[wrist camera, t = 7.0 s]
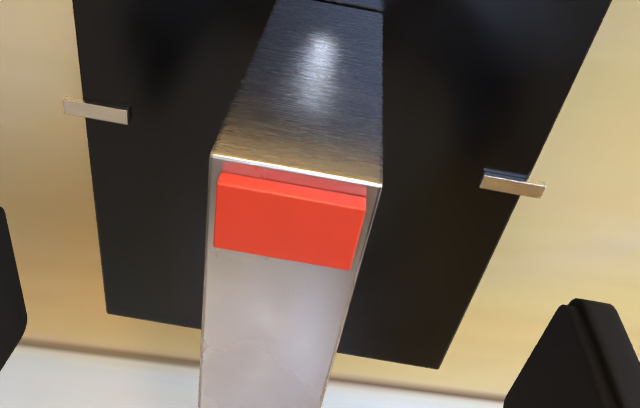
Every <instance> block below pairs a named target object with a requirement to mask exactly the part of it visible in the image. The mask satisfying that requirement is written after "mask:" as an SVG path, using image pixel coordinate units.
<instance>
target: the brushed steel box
mask: <svg viewBox="0 0 640 408" xmlns="http://www.w3.org/2000/svg"><path fill="white" fill-rule="evenodd" d="M382 187H383V14H381V13H377V12H372V11H367V10H361V9H356V8H351V7H345V6H340V5H335V4H329V3H324V2H318V1H313V0H276V1H275V4H274V6H273V8H272V11H271V13H270V15H269V18H268V20H267V22H266V25H265V27H264V29H263V32H262V34H261V36H260V39H259V41H258V43H257V46H256V48H255V50H254V53H253V55H252V57H251V60H250V62H249V64H248V67H247V69H246V71H245V74H244V76H243V78H242V81H241V83H240V85H239V88H238V90H237V92H236V95H235V97H234V99H233V102H232V104H231V106H230V109H229V111H228V113H227V116H226V118H225V120H224V123H223V125H222V127H221V130H220V132H219V134H218V137H217V139H216V141H215V143H214V146H213V148H212V150H211V153H210V155H209V176H208V198H207V220H206V242H205V265H204V287H203V309H202V331H201V354H200V376H199V398H198V408H321V405H322V402H323V398H324V394H325V391H326V387H327V384H328V380H329V377H330V373H331V369H332V366H333V362H334V359H335V355H336V351H337V348H338V344H339V341H340V337H341V334H342V330H343V326H344V323H345V319H346V316H347V312H348V309H349V305H350V301H351V298H352V294H353V291H354V287H355V284H356V280H357V276H358V273H359V269H360V266H361V262H362V259H363V255H364V251H365V248H366V244H367V241H368V237H369V233H370V230H371V226H372V223H373V219H374V216H375V212H376V208H377V205H378V201H379V198H380V194H381V191H382Z"/></svg>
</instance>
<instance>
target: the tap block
mask: <svg viewBox="0 0 640 408" xmlns="http://www.w3.org/2000/svg"><path fill="white" fill-rule="evenodd" d="M72 1H73V11H74V20H75V29H76V38H77V47H78V56H79V65H80V74H81V83H82V92H83V99H78V98H72V97H67V96H66V97H65V98H64V99H63V105H64V112H65V114H70V115H76V116H81V117H85V120H86V129H87V138H88V147H89V156H90V165H91V174H92V183H93V192H94V201H95V210H96V219H97V229H98V238H99V247H100V256H101V265H102V274H103V283H104V292H105V301H106V310H107V313H108V314H112V315H118V316H124V317H130V318H136V319H142V320H148V321H154V322H160V323H165V324H171V325H177V326H183V327H189V328H195V329H201V330H202V309H203V287H204V265H205V242H206V220H207V198H208V176H209V155H210V153H211V150H212V148H213V146H214V143H215V141H216V139H217V137H218V134H219V132H220V130H221V127H222V125H223V123H224V120H225V118H226V116H227V113H228V111H229V109H230V106H231V104H232V102H233V99H234V97H235V95H236V92H237V90H238V88H239V85H240V83H241V81H242V78H243V76H244V74H245V71H246V69H247V67H248V64H249V62H250V60H251V57H252V55H253V53H254V50H255V48H256V46H257V43H258V41H259V39H260V36H261V34H262V32H263V29H264V27H265V25H266V22H267V20H268V18H269V15H270V13H271V11H272V8H273V6H274V4H275V1H276V0H72ZM313 1H318V2H324V3H329V4H335V5H340V6H345V7H351V8H356V9H361V10H367V11H372V12H377V13H381V14H383V187H382V191H381V194H380V198H379V201H378V205H377V208H376V212H375V216H374V219H373V223H372V226H371V230H370V233H369V237H368V241H367V244H366V248H365V251H364V255H363V259H362V262H361V266H360V269H359V273H358V276H357V280H356V284H355V287H354V291H353V294H352V298H351V301H350V305H349V309H348V312H347V316H346V319H345V323H344V326H343V330H342V334H341V337H340V341H339V344H338V348H337V351H336V352H337V353H342V354H348V355H354V356H360V357H366V358H372V359H378V360H384V361H390V362H396V363H401V364H407V365H413V366H419V367H425V368H431V369H439V367H440V365H441V363H442V361H443V359H444V357H445V355H446V352H447V350H448V348H449V346H450V344H451V342H452V340H453V338H454V335H455V333H456V331H457V329H458V327H459V325H460V323H461V321H462V318H463V316H464V314H465V312H466V310H467V308H468V306H469V304H470V301H471V299H472V297H473V295H474V293H475V291H476V289H477V287H478V284H479V282H480V280H481V278H482V276H483V274H484V272H485V269H486V267H487V265H488V263H489V261H490V259H491V257H492V255H493V252H494V250H495V248H496V246H497V244H498V242H499V240H500V238H501V235H502V233H503V231H504V229H505V227H506V225H507V223H508V221H509V218H510V216H511V214H512V212H513V210H514V208H515V206H516V204H517V201H518V199H519V197H520V195H523V196H528V197H534V198H540V197H541V195H542V193H543V191H544V189H545V187H546V185H545V183H544V182H540V181H534V180H529V179H528V178H529V176H530V174H531V172H532V169H533V167H534V165H535V163H536V161H537V159H538V157H539V155H540V152H541V150H542V148H543V146H544V144H545V142H546V140H547V138H548V135H549V133H550V131H551V129H552V127H553V125H554V123H555V120H556V118H557V116H558V114H559V112H560V110H561V108H562V106H563V103H564V101H565V99H566V97H567V95H568V93H569V91H570V89H571V86H572V84H573V82H574V80H575V78H576V76H577V74H578V72H579V69H580V67H581V65H582V63H583V61H584V59H585V57H586V55H587V52H588V50H589V48H590V46H591V44H592V42H593V40H594V37H595V35H596V33H597V31H598V29H599V27H600V25H601V23H602V20H603V18H604V16H605V14H606V12H607V10H608V8H609V6H610V3H611V1H612V0H313Z"/></svg>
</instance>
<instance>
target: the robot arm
mask: <svg viewBox="0 0 640 408" xmlns="http://www.w3.org/2000/svg"><path fill="white" fill-rule="evenodd" d="M26 325H27V313H26V308H25V303H24V299H23V294H22V289H21V285H20V280H19V275H18V271H17V266H16V261H15V257H14V252H13V247H12V243H11V238H10V233H9V228H8V224H7V219H6V214H5V211H4V209H3V208H2V207H0V371H1V369H2V368H3V366H4V365H5V363H6V361H7V360H8V358H9V357H10V355H11V354H12V352H13V350H14V349H15V347H16V346H17V344H18V342H19V341H20V339H21V338H22V336H23V334H24V331H25V329H26ZM503 408H640V362H639V360H638V358H637V356H636V353H635V351H634V349H633V347H632V344H631V342H630V340H629V338H628V335H627V333H626V331H625V329H624V326H623V324H622V322H621V320H620V317H619V315H618V313H617V311H616V309H615V308H614V306H612V305H611V304H607V303H601V302H596V301H590V300H584V299H577V298H575V299H573V300H572V301H571V302H570V303H569V304H568V305H561V306H560V307H559V308H558V309H557V311H556V312H555V314H554V316H553V318H552V319H551V321H550V323H549V324H548V326H547V328H546V329H545V331H544V333H543V335H542V336H541V338H540V340H539V341H538V343H537V345H536V346H535V348H534V350H533V352H532V353H531V355H530V357H529V358H528V360H527V362H526V363H525V365H524V367H523V369H522V370H521V372H520V374H519V375H518V377H517V379H516V380H515V382H514V384H513V386H512V387H511V389H510V391H509V392H508V394H507V396H506V398H505V401H504V406H503Z"/></svg>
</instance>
